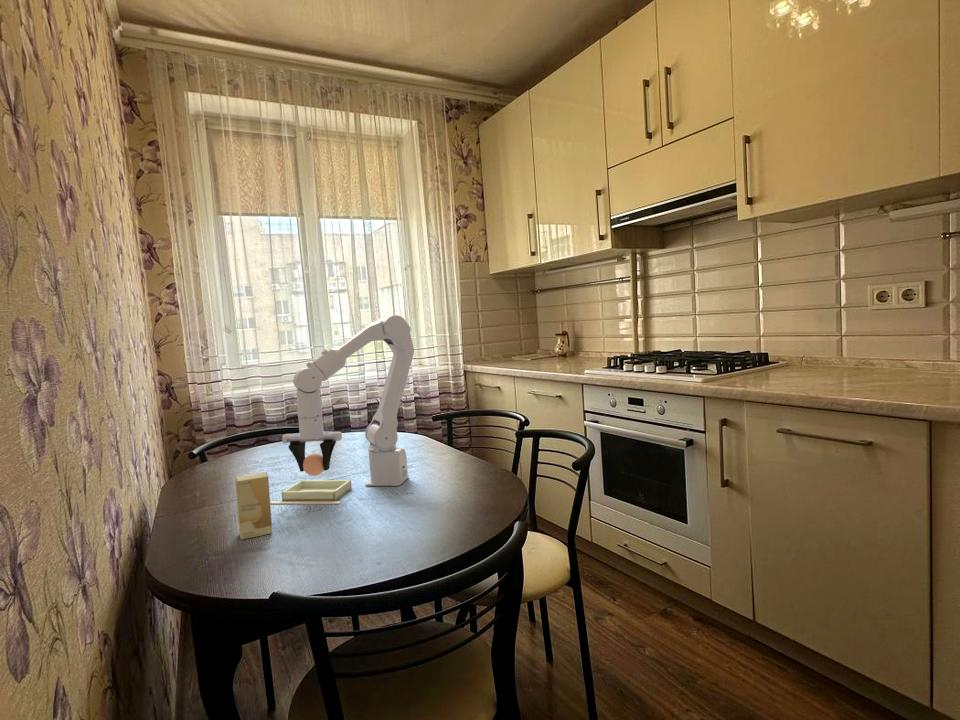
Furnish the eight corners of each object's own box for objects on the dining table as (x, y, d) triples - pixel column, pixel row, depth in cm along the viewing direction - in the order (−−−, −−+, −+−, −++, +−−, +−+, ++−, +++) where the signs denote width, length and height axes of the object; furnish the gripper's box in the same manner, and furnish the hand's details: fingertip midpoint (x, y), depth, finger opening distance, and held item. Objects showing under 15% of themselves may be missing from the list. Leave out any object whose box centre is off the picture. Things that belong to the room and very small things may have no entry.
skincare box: (240, 540, 111) (234, 481, 110) (239, 533, 114) (233, 476, 113) (274, 533, 113) (268, 475, 113) (271, 526, 117) (266, 470, 116)
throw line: (340, 502, 130) (340, 501, 130) (338, 504, 129) (338, 502, 129) (272, 502, 134) (271, 501, 134) (269, 504, 133) (269, 502, 133)
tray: (351, 488, 141) (350, 480, 141) (335, 500, 132) (334, 492, 132) (301, 488, 144) (301, 480, 144) (282, 500, 135) (281, 492, 134)
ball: (331, 473, 138) (329, 452, 138) (314, 479, 134) (312, 457, 133) (316, 471, 141) (314, 450, 141) (299, 477, 136) (297, 455, 136)
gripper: (343, 412, 140) (348, 464, 141) (288, 414, 141) (293, 466, 142) (334, 417, 133) (339, 472, 134) (276, 420, 134) (281, 474, 135)
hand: (314, 469), depth 137 cm, fingers closed on ball, 5 cm apart
